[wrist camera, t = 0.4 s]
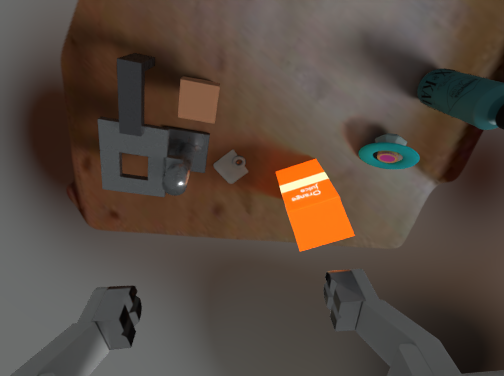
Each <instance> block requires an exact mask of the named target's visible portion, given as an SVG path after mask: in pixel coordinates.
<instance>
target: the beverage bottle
mask: <svg viewBox="0 0 504 376" xmlns="http://www.w3.org/2000/svg"><path fill="white" fill-rule="evenodd" d="M417 94H418V97H419V100H420V102H422V103H424V104H425V105H428V106H430V108H431V107H432V109H433V108H435V109H437V110H439V111H441V112H442V113H444V114H445V113H446V114H448V115H450V116H452V117H455V118H458V119H460V120H462V121H465V122H467V123H469V124H472V125H474V126H476V127H478V128H480V129H483V130H490V129H494V128H497V127H499V128H502V129H504V83H501V82H497V81H493V80H489V79H486V78H482V77H477V76H476V75H475V76H474V75H469V74H464V73H460V72H456V71H455V70H452V71H451V70H449V69H447V68H446V69H445V68H444V69H440V68H439V69H437V70H433V71H431V72H429V73H428V74H427V75H426V76H424V78H423V79H422V80H421V82H420V84H419V86H418V91H417ZM435 109H434V110H435Z"/></svg>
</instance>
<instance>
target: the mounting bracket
mask: <svg viewBox="0 0 504 376" xmlns="http://www.w3.org/2000/svg"><path fill="white" fill-rule="evenodd" d="M238 159H241V160H242V162H243V163H241V164H237V163H236V161H237V160H238ZM245 164H246V160H245V158H244V157H243V156H237V154H236V153H235V151H234V150H231V151H230V152H229V153H227V154H226V155H225V156H223V157H222V158H221V159H219V160H218V161H217V162H215V163H214V168H215V169H216V170H217V171H218V173H219V174H220V175H221V176H222V177H223V178H224V179H225V180H226V181H227V182H228V183H231V184H233V183H234V182H235V181H237V180H238V179H239V178H241V177H242V176H244V175H245V174H246V173H248V170H247V169H246V167H245Z"/></svg>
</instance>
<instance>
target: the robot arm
mask: <svg viewBox="0 0 504 376" xmlns="http://www.w3.org/2000/svg"><path fill="white" fill-rule="evenodd" d="M325 278H326V281H327V282H326V284H324V299H325V303H326V306H327V307H328V308H329V309H330V310H331V314H330V317H331V321H332V324H333V326H334V329H335V331H346V330H347V331H348V330H355V331H356V332H357V333H358V334H359V335H360V336H361V337H362V338H363V339H364V340H365V342H366V343H367V344H368V345H370V346H371V348H372V349H373V350H374V351H375V352H376V353H377V354H378V355H379V356H380V357H381V358H382V359H383V360H384V361H385V362H386V363H387V364H388V365H389V366H390V370H389V372H388V375H387V376H504V370H503V371H492V372H480V373H469V374H461V373H460V371H459V370H458V368H457V367H456V365H455V364H454V362H453V361H452V359H451V357H450V356H449V354H448V353H447V351H446V350H445V348H444V347H443V345H442V344H441V342H440V341H439V340H438V339H437V338H435V337H434V336H433V335H431V334H430V333H429V332H427V331H426V330H424V329H423V328H422V327H420V326H419V325H417V324H416V323H415V322H413V321H412V320H410V319H409V318H408V317H406V316H405V315H403V314H402V313H401V312H399V311H398V310H396V309H395V308H394V307H392V306H391V305H389V304H388V303H387V302H385V301H384V300H379V298H378V296H377V294H376V293H375V291H374V289H373V287H372V285H371V283H370V282H369V280H368V278H367V276H366V274H365V272H364V270H362V269H351V270H337V271H327V272H326V276H325ZM136 294H137V289H136V287H135V286H117V287H115V286H114V287H98V288H96V289H95V290H94V291H93V293H92V295H91V297H90V299H89V301H88V303H87V305H86V307H85V309H84V311H83V313H82V315H81V317H80V318H79V320H78V322H77V323H75V324H72V325H71V326H70V327H69V328H67V329H66V330H65V331H64V332H63V333H61V334H60V335H59V336H58V337H56V338H55V339H54V340H53V341H52V342H50V343H49V344H48V345H47V346H46V347H44V348H43V349H42V350H41V351H40V352H38V353H37V354H36V355H35V356H33V357H32V358H31V359H30V360H29V361H28V362H26V363H25V364H24V365H23V366H21V367H20V368H19V369H18V370H16V371H15V372H14V373H13V374H12V375H11V376H89V375H90V373H91V372H92V371H93V370H94V369H95V368H96V367H97V365H98V364H99V363H100V362H101V361H102V359H103V358H104V357H105V356H106V355H107V354H108V353H109V350H113V349H122V348H131V346H132V343H133V340H134V337H135V333H136V330H135V328H134V326H135V325H136V324H137V323H138V322H139V320H140V317H141V311H142V305H141V300H140V298H139V297H137V296H136Z"/></svg>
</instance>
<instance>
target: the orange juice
mask: <svg viewBox="0 0 504 376" xmlns="http://www.w3.org/2000/svg"><path fill="white" fill-rule="evenodd" d="M276 175H277V179H278V182H279V186H280V190H281V193H282V196H283V199H284V202H285V206H286V209H287V213H288V216H289V219H290V222H291V225H292V228H293V231H294V234H295V237H296V241H297V244H298V247H299V250H300V251H303V250H307V249H310V248H313V247H317V246H321V245H324V244H328V243H331V242H334V241H338V240H341V239H345V238H348V237H352V236H355V235H354V232H353V230H352V228H351V225H350V223H349V220H348V218H347V215H346V213H345V210H344V208H343V206H342V203H341V201H340V197H339V195H338V193H337V192H336V190H335V189H334V187H333V185H332V184H331V182H330V181H329V178H328V177H327V175H326V174H325V172H324V171H323V169H322V168H321V166H320V164H319V163H318V161H317V160H316V159H313V160H310V161H307V162H304V163H301V164H298V165H295V166H292V167H289V168H286V169H283V170H280V171H276Z"/></svg>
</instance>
